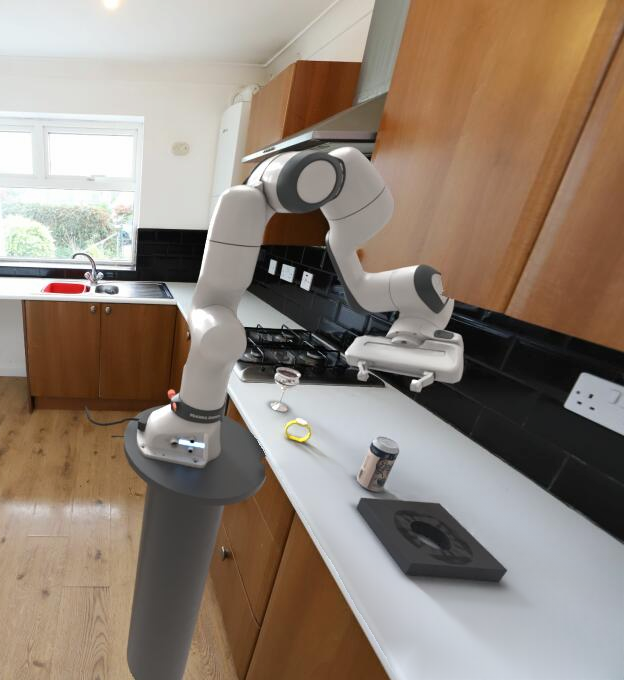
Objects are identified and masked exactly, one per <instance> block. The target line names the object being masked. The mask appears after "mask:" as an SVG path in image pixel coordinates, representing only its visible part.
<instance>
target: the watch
mask: <svg viewBox="0 0 624 680" xmlns="http://www.w3.org/2000/svg"><path fill="white" fill-rule="evenodd" d="M292 425H297V426H300V427H302V428H307V430H308V434H307V435H306V436H304V437H301V438H299V437H296V436H293V435H290V433H289V432H288V429H289V428H290V426H292ZM284 430H285V435H286V437H287V438H288V439H289V440H292V441H295V442H298V443H304V442H307V441H308V440H309V439H311V436H312V429H311V426H310V425H309V424H308V422H307V420H305V419H303V418H300V417H297V418H296V419H294V420H290V421H289V422H287V423H286V424H285V427H284Z"/></svg>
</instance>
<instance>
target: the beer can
mask: <svg viewBox="0 0 624 680" xmlns="http://www.w3.org/2000/svg"><path fill="white" fill-rule="evenodd" d="M399 454H400V447H399V444H398V443H397V442H396V441H394V440H393V439H391V438H389V437H385V436H377V437H375V438H374V439H372V441H371V443H370V445H369V448H368V451H367V453H366V455H365V458H364V460H363V463H362V465H361V467H360V470H359V472H358V474H357V477H356V481H357V482H358V483H359V485H360V486H361V487H363V488H364V489H365V490H368V491H372V492H376V493H377V492H381V491H382V490H383V488H384V487H385V484H386V482H387V480H388V477H389V475H390V474H391V471H392V469H393V467H394V465H395V462H396V460H397V458H398V456H399Z"/></svg>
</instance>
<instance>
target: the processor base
mask: <svg viewBox="0 0 624 680" xmlns="http://www.w3.org/2000/svg"><path fill="white" fill-rule="evenodd" d="M356 505H357V506H356V510H357V511H358V513H359V514H360V515H361V517H362V518H363V519H364V522H366V524H367V525H368V526H369V528H370V529H371V530H372V532H373V533H374V535H375V536H376V537H377V538H378V540H379V541H380V543H381V544H382V546H383V547H384V548H385V550H386V551H387V552H388V553H389V555H390V556H391V558H392V559H393V560H394V562H395V563H396V564H397V566H398V567H399V568H400V570H401V571H402V573H403V574H404V575H405V576H414V577H415V576H416V577H417V576H418V577H427V578H428V577H429V578H430V577H431V578H444V579H456V580H470V581H481V582H482V581H483V582H493V583H494V582H495V583H499V582H500V581H501V580H502V579H503V578H504V576H505V575H506V573H507V572H508V569H507V568H506V567H505V566H504V565H503V563H500V561H499V560H498V559H497V558H496V557H495V556H494V555H493V554H492V553H491V552H490V551H488V549H487V548H485V546H483V545H482V543H480V541H478V539H476V538H475V536H474V535H472V533H470V531H468V530H467V529H466V528H465V527H464V526H463V525H462V524H461V523H460V522H459V521H458V520H457V519H456V518H455V517H454V516H453V515H452V514H451V513H450V512H449V511H448V510H447V509H446V508H445V507H444V506H443V505H442V503H441V504H440V503H439V502H430V501H428V502H427V501H417V500H416V501H415V500H401V499H387V498H375V497H373V498H372V497H360V498H359V501H358V503H357V504H356ZM415 533H417V534H420V535H423V536H425V537H427V538H429V539H430V540H431V541H433V542H434V543H436V544H437V545H438V546H439V547H440V548H441V549H440V548H436V547H434V546H432V545H430V544H428V543H426V542H424V541H423V540H422V539H421V538H419V537H418V536H417V535H416V534H415Z"/></svg>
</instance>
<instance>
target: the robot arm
mask: <svg viewBox="0 0 624 680" xmlns="http://www.w3.org/2000/svg"><path fill="white" fill-rule="evenodd" d="M318 209H320V211H321V212H322V214H323V216H324V217H325V218H326V220H327V222H328V225H329V230H328V231H327V233H326V235H325V246H326V250H327V254H328V256H329V259H330V261H331V264H332V266H333V269H334V271H335V273H336V275H337V278H338V281H339V282H340V285H341V287H342V292H343V296H344V300H345V303H346V305H347V307H348V308H349V309H350V310H352V311H353V312H354V313H356V314H358V315H359V316H367V315H374V314H379V313H384V312H399V314H398V318H397V319H396V320H395V321H394V322H393V323H392V325H391V327H390V329H389V331H388V332H387V334H386V336H382V335H381V336H380V335H371V334H364V335H362V336H361V335H360V336H356V338H354V341H353V342H352V343H351V344H350V345H349V346H348V348H347V349H346V350H345V352H344V357H345V361H346V363H347V365H349V366H353V367H358V373H357V375H356V376H357V380H358V381H363V382H367V380H368V379H369V377H370V376H369V371H368V370H373V371H374V370H376V371H379V372H380V371H381V372H386V373H393V374H397V375H402V376H403V375H404V376H407V377H414V378H418V380H417V379H412V380H411V383H410V384H409V390H410V391H411V392H416V393H421V391H422V388H425V387H428V386H430V385H431V384H433V383H434V381H437V382H442V383H448V384H455V383H459V382H460V381H461V379H462V377H463V372H464V351H465V349H464V347H465V346H464V341H463V336H462V335H461V334H459V333H456V332H453V331H449V330H445V328H446V327H447V325H448V323H449V322H450V319H451V317H452V314H453V311H454V308H455V298H454V299H451V298H448V297H445V296H442V295H440V294H442V292H443V291H444V290H443V286H442V281H441V276H440V275H441V274H442V273H441V272H440V271H439V270H437V269H436V268H434V267H432V266H431V265H427V264H417V265H411V266H410V265H409V266H405V267H400V268H396V269H391V270H385V271H380V272H367V271H365V270H364V269H363V266H362V264H361V261H360V258H359V256H358V252H357V251H356V249H358V248H359V247H361V246H362V245H364V244H365V243H367V242H369V241H371V240H372V239H373V238H375V237H377V235H379V233H380V232H382V231H383V230H384V228H385V227H386V226H387V225H388V224H389V222H390V220H391V218H392V217H393V214H394V211H395V201H394V196H393V195H392V191H391V190H390V188H389V187H388V185H387V183H386V182H385V180H384V178H383V176H382V175H381V174H380V172H379V171H378V169H377V168H376V167H375V165H374V164H373V163H372V162H371V161H370V160H369V159H368V158H367V156H365V155H364V154H363V153H362V152H361V151H360V150H359V149H358V148H356V147H353V146H342V147H339V148H335V149H334V150H331V151H329V152H328V153H327V152H325V151H323V150H322V151H321V150H316V149H307V150H303V151H286V152H285V151H284V152H281V153H279V154H275V155H272V156H268V157H265V158H264V159H263V160H260V161H259V162H258V163H257V164H256V165H255V166H253V168H252V169H251V171H250V172H249V174H248V175H247V177H246V178H245V179H244V181H243V182H242V184H238V185H234V186H231V187H229V188H226V189H225V190H224V191H223V192H222V193H221V195H220V196H219V198H218V201H217V203H216V206H215V209H214V212H213V215H212V216H211V220H210V225H209V227H208V231H207V235H206V236H207V237H206V241H205V247H204V252H203V256H202V261H201V267H200V271H199V276H198V280H197V283H196V286H195V289H194V292H193V295H192V298H191V301H190V306H189V310H188V313H187V325H188V329H189V333H190V347H189V352H188V355H187V359H186V362H185V364H184V366H183V369H182V376H181V384H180V390H179V392H178V393H176V391H175V389H169V390H168V391H167V397H168V399H169V400H170V403H169V404H166V405H167V406H165V407H163V408H160V409H158V410H156V411H153V412H152V413H151V414H150V413H147V412H146V413H145V414H144V415H143V416H142V417H141V419H139V418H134V417H125V418H123V419H120V420H116V421H111V422H98V421H95V420H93V418H91V416H90V412H89V409H88V407H87V406H84V407H83V409H84V411H85V413H86V417H87V419H88V421H89V422H91V423H92V424H94V425H96V426H100V427H107V426H114V425H119V424H122V423H124V422H126V421H131V420H134V421H138V427H137V429H138V431H137V446H138V449H139V450H140V452H141V453H142V455H143V456H145V457H147V458H152V459H157V460H162V461H167V462H172V463H177V464H181V465H186V466H191V467H196V468H204V467H205V466H206V464H207V463H208V462H209V461H211V460H213V459H215V458H216V457H218V456H219V454H220V452H221V445H220V424H221V422H222V419H223V416H224V415H225V411H226V402H225V400H226V395H227V390H228V385H229V381H230V378H231V376H232V375H231V374H232V372H233V370H234V368H235V366H236V363H237V361H239V360H240V359H241V358H242V357H243V355H244V354H245V352H246V349H247V344H248V343H247V333H246V330H245V327H244V325H243V323H242V321H241V320H240V319H239V318H238V307H239V305H240V303H241V300H242V299H243V296H244V295H245V292H246V290H247V289H248V288H249V286H250V285H251V284H252V281H253V277H254V274H255V269H256V266H257V263H258V258H259V255H260V251H261V246H262V242H263V237H264V232H265V229H266V227H267V225H268V223H269V221H270V220H271V218H272V217H273V216H274V215H275V214H276V213H279V214H307V213H310V212H314V211H316V210H318Z"/></svg>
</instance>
